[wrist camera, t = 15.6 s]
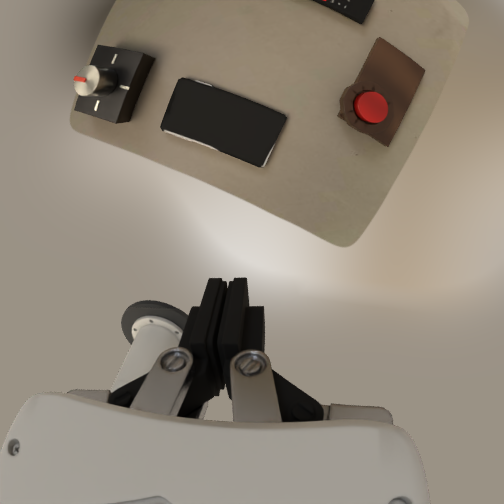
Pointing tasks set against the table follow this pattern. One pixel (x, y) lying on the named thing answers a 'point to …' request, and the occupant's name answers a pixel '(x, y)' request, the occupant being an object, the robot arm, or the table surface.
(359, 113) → the light button
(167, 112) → the smartphone
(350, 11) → the remote control
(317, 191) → the table surface
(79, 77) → the dimmer knob
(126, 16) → the table surface
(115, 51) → the dimmer panel
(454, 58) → the table surface
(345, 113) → the switch block
